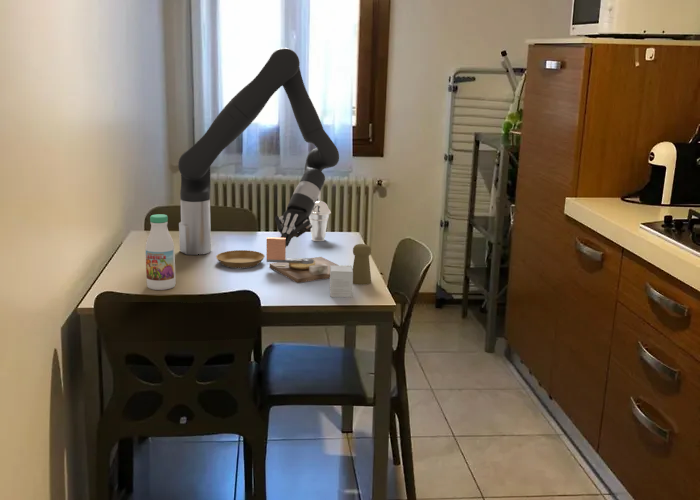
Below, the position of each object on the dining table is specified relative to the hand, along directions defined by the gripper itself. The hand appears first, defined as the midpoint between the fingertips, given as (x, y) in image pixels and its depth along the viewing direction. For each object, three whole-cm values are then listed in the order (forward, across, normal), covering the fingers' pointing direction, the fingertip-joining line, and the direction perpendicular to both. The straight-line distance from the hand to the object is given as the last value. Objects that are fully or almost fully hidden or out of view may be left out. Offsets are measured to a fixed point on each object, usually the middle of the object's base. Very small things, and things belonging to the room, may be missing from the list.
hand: (282, 246), depth 229 cm
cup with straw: (-22, -10, +32) cm, 40 cm away
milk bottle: (+28, -18, -18) cm, 38 cm away
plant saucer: (+7, -14, +4) cm, 16 cm away
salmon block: (+4, +3, +4) cm, 6 cm away
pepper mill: (+4, +26, +6) cm, 27 cm away
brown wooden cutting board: (+3, +8, +7) cm, 11 cm away
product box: (+13, +26, -3) cm, 30 cm away
